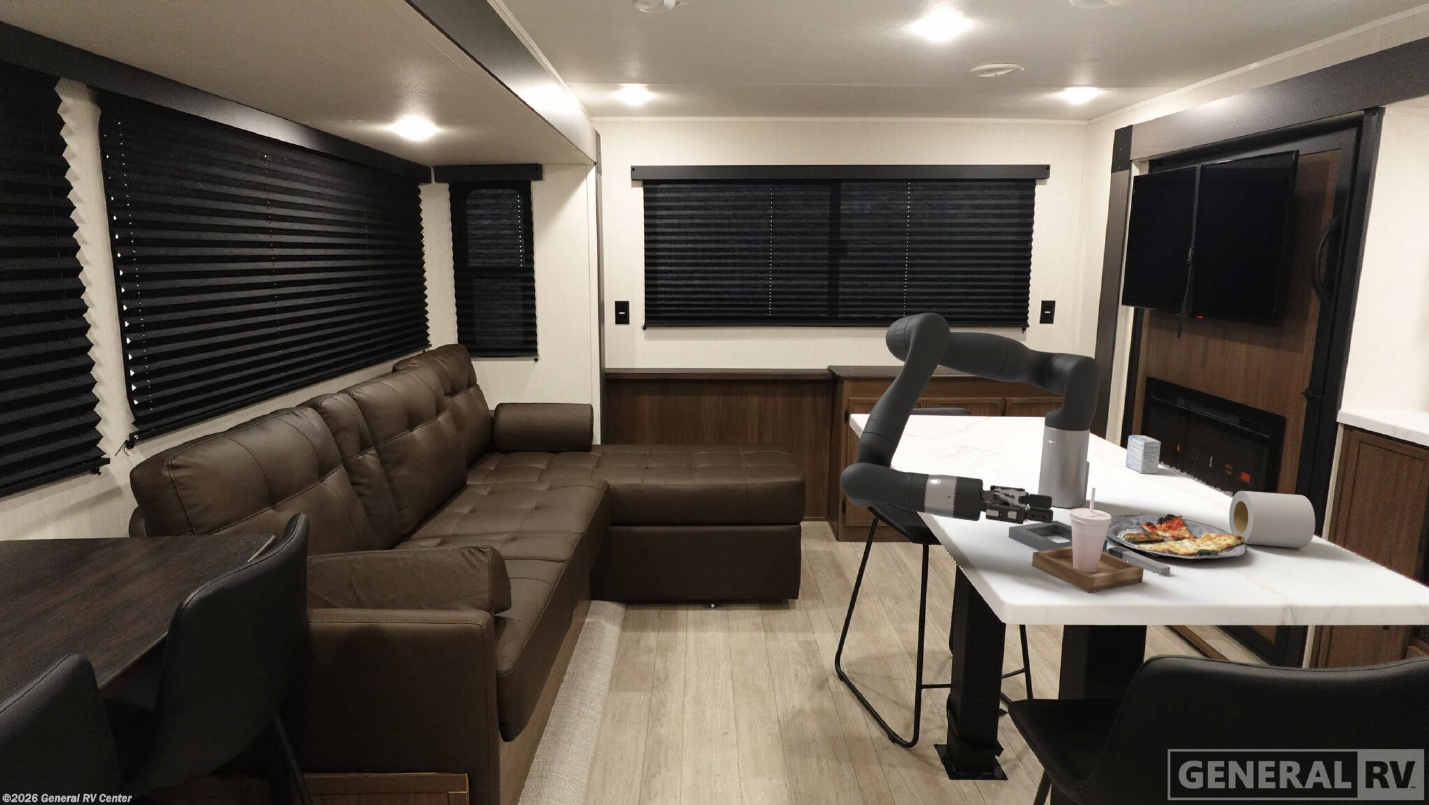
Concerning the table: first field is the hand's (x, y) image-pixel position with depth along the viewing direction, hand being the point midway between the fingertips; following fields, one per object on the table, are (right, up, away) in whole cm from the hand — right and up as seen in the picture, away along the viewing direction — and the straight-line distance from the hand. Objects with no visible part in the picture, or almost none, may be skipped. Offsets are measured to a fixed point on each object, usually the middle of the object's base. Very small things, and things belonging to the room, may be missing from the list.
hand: (1052, 509), depth 130 cm
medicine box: (+55, 0, +71) cm, 90 cm away
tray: (+6, -11, 0) cm, 12 cm away
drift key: (+17, -11, +4) cm, 21 cm away
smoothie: (+5, -10, 0) cm, 11 cm away
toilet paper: (+48, -9, +16) cm, 52 cm away
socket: (+7, -8, +14) cm, 18 cm away
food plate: (+29, -9, +16) cm, 34 cm away
